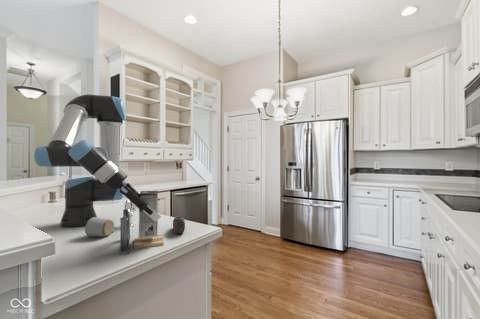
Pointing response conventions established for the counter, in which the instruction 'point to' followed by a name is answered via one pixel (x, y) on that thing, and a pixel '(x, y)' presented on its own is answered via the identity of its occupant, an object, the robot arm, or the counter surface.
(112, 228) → the ceramic mug
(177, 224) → the perforated stone tool
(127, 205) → the wineglass
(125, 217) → the metal drawer handle
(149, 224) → the coffee box
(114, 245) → the counter surface
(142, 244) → the oak trivet
